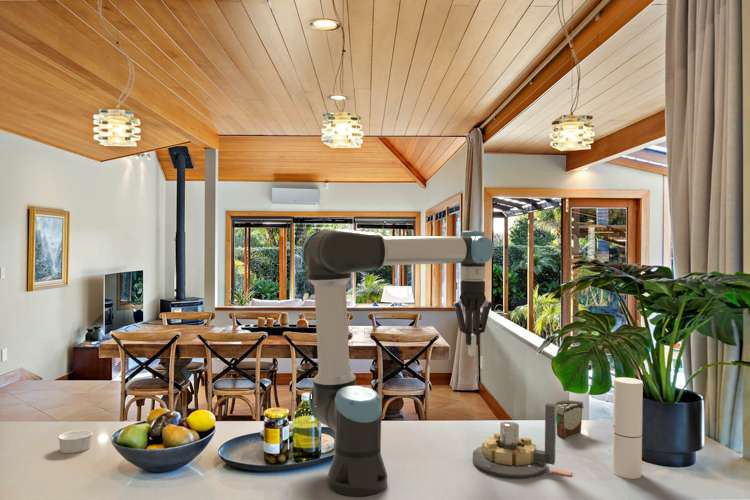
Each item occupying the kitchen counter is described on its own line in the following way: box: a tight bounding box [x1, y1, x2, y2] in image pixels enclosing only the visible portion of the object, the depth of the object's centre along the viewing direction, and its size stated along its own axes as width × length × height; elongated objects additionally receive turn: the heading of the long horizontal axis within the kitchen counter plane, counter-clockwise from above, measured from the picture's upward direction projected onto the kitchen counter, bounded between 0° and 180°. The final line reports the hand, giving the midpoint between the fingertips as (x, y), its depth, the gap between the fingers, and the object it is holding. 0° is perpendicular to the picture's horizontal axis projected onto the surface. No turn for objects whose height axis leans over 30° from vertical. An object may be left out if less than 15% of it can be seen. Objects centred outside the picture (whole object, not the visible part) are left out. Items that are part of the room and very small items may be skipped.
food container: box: [554, 399, 584, 440], centre depth 182 cm, size 12×6×10 cm, turn 130°
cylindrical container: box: [611, 376, 644, 480], centre depth 151 cm, size 7×7×25 cm
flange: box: [472, 421, 548, 480], centre depth 156 cm, size 20×20×11 cm
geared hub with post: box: [481, 402, 557, 466], centre depth 155 cm, size 19×14×16 cm
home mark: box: [550, 468, 573, 477], centre depth 150 cm, size 5×2×1 cm, turn 65°
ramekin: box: [57, 429, 94, 454], centre depth 164 cm, size 9×9×4 cm
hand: (471, 355), depth 176 cm, fingers closed
